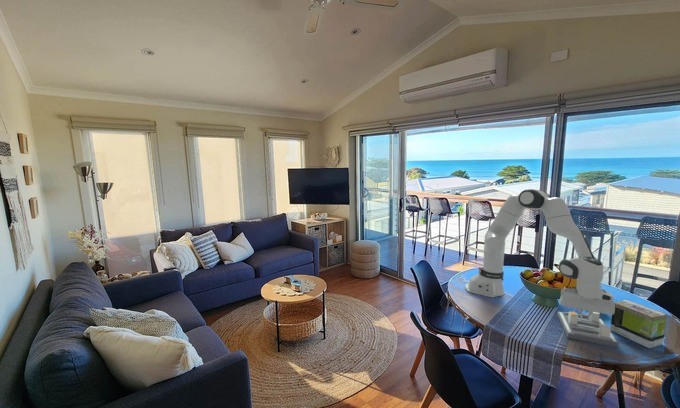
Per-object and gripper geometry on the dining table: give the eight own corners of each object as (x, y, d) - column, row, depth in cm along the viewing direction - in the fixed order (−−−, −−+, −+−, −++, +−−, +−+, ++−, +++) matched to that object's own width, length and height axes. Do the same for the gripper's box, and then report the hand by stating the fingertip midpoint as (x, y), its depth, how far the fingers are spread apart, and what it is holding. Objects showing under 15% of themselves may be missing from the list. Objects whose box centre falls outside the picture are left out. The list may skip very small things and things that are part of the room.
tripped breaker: (569, 324, 143) (570, 314, 142) (567, 320, 146) (568, 310, 145) (577, 326, 142) (578, 315, 141) (575, 322, 145) (576, 312, 144)
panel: (567, 337, 136) (568, 323, 135) (557, 314, 156) (558, 302, 155) (618, 347, 128) (620, 333, 127) (600, 322, 148) (602, 309, 147)
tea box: (663, 344, 130) (668, 313, 127) (648, 349, 127) (653, 317, 125) (623, 326, 144) (626, 298, 142) (608, 330, 141) (612, 301, 139)
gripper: (562, 289, 141) (559, 316, 143) (618, 298, 132) (614, 326, 134) (559, 284, 146) (556, 309, 149) (613, 292, 137) (609, 319, 139)
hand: (584, 317), depth 141 cm, fingers closed
